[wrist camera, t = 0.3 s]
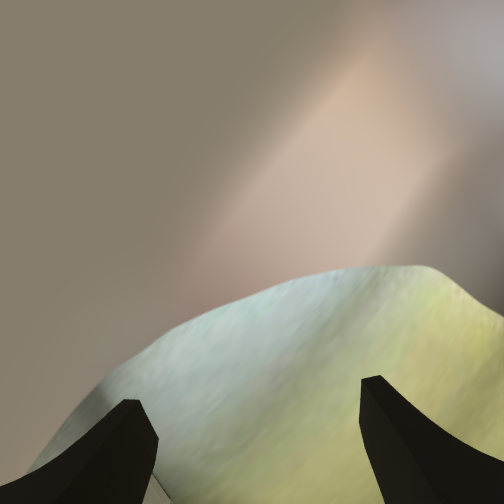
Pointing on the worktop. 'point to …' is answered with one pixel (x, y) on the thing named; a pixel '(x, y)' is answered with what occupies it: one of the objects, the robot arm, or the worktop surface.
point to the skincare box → (155, 493)
